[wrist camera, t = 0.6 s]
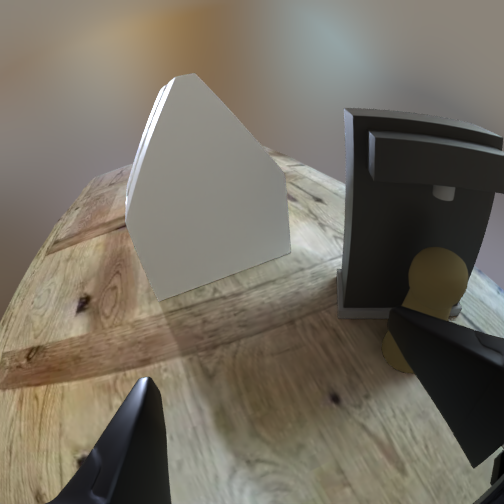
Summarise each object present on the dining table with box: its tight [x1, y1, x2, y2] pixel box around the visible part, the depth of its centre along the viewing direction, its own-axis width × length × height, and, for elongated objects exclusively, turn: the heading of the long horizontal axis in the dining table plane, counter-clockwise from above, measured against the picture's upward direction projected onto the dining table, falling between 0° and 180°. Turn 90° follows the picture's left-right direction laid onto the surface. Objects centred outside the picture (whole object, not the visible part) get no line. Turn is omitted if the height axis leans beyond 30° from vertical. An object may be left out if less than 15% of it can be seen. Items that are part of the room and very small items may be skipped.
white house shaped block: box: [125, 73, 291, 302], centre depth 35 cm, size 19×15×25 cm
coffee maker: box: [337, 108, 504, 319], centre depth 22 cm, size 10×15×20 cm, turn 78°
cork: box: [382, 247, 468, 373], centre depth 19 cm, size 6×6×11 cm
